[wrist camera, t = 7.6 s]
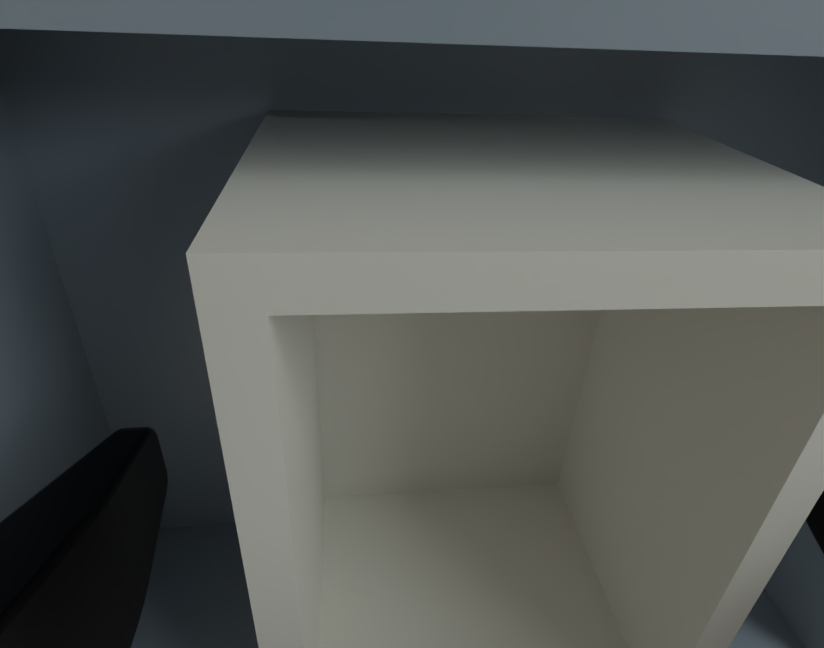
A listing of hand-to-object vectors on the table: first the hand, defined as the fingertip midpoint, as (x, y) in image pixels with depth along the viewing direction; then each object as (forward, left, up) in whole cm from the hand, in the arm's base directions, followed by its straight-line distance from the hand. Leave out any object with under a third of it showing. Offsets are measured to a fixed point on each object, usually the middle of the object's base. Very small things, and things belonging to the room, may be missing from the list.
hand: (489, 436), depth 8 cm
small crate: (0, 0, -3) cm, 3 cm away
